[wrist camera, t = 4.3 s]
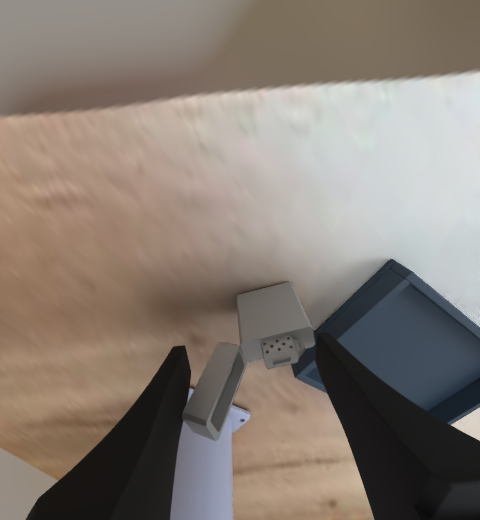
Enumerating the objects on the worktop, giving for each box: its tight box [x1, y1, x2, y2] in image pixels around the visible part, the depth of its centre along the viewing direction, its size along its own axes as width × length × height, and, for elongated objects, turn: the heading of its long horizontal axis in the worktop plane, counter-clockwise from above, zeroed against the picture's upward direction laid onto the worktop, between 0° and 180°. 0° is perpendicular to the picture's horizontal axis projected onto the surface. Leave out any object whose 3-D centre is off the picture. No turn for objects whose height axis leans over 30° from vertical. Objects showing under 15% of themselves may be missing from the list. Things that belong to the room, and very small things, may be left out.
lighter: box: [182, 282, 315, 441], centre depth 13 cm, size 7×2×8 cm, turn 105°
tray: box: [291, 259, 480, 425], centre depth 19 cm, size 11×17×2 cm, turn 55°
